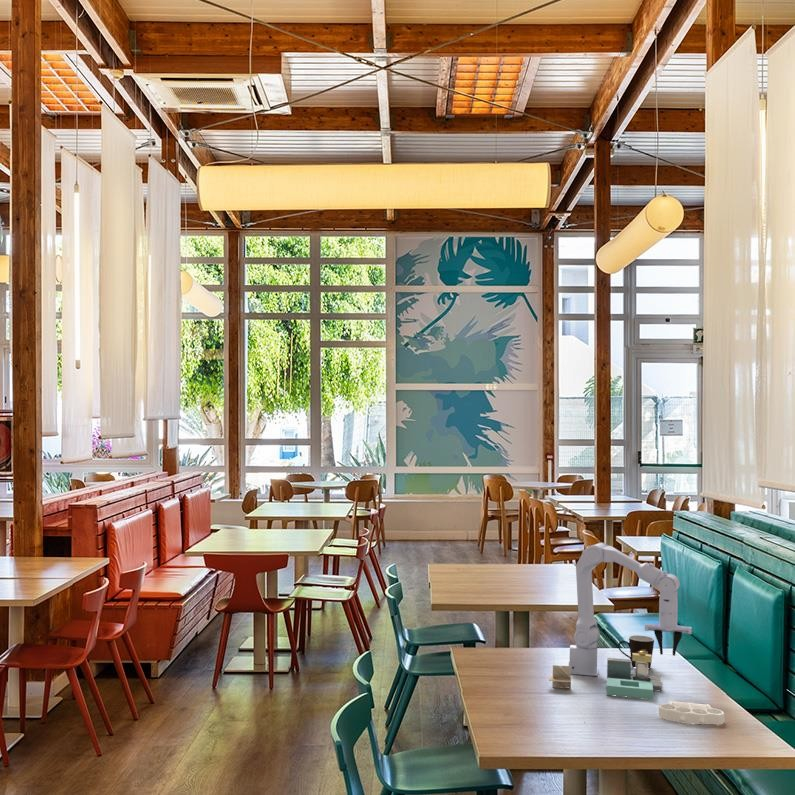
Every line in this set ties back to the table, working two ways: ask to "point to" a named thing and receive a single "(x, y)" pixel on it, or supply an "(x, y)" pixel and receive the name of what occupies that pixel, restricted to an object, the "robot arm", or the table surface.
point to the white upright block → (641, 671)
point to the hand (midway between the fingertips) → (667, 654)
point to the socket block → (627, 672)
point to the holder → (630, 688)
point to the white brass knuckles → (691, 713)
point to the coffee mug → (639, 646)
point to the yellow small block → (642, 657)
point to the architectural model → (561, 676)
